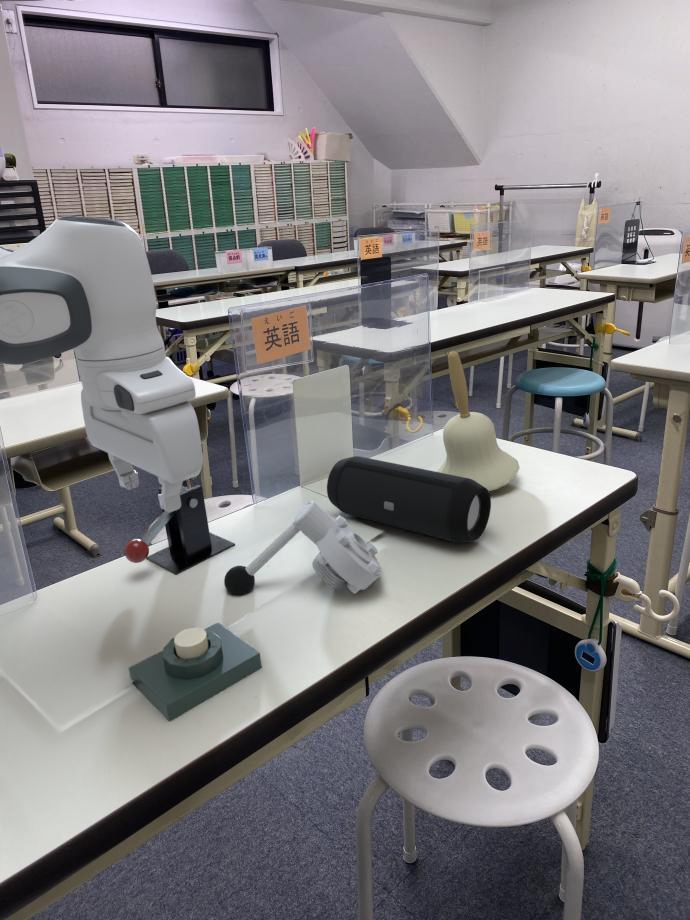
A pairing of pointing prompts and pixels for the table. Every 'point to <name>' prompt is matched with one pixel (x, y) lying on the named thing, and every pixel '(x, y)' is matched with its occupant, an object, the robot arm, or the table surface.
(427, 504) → the portable speaker
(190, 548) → the bracket
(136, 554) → the lever
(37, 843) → the table surface
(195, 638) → the button
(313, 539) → the mechanical valve
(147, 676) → the control block
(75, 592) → the table surface
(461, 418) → the handbell
